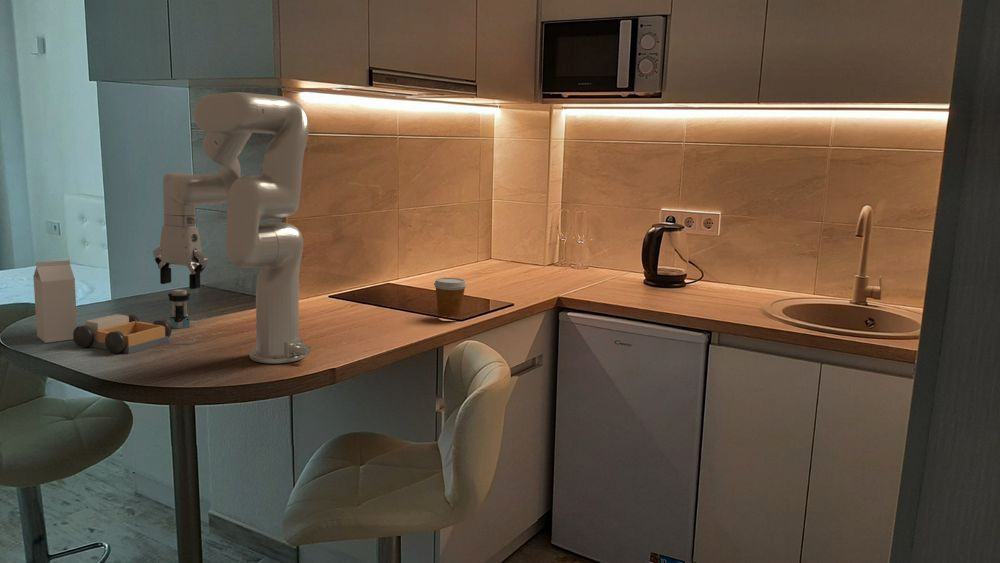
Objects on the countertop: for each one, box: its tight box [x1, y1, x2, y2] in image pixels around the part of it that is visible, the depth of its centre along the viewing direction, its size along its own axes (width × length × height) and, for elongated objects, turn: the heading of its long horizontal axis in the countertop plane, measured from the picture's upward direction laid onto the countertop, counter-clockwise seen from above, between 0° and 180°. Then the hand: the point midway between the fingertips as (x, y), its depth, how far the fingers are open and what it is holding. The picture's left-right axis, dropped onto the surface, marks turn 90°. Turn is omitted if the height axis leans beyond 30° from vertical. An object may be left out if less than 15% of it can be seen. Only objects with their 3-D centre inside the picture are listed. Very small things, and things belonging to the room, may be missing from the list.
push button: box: [167, 288, 197, 330], centre depth 198 cm, size 7×5×10 cm
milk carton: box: [32, 259, 78, 344], centre depth 181 cm, size 7×7×19 cm
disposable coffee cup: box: [433, 277, 467, 317], centre depth 222 cm, size 10×10×12 cm
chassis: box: [73, 313, 172, 354], centre depth 181 cm, size 16×15×6 cm
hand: (180, 285), depth 197 cm, fingers open, 9 cm apart
